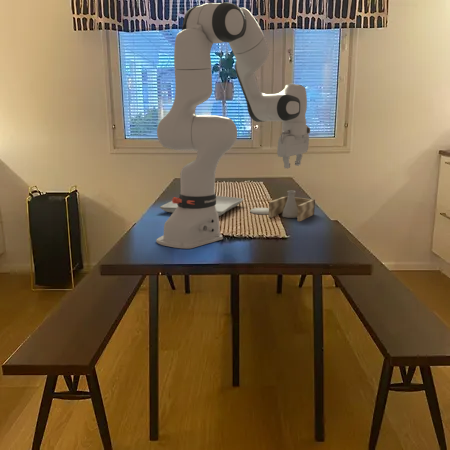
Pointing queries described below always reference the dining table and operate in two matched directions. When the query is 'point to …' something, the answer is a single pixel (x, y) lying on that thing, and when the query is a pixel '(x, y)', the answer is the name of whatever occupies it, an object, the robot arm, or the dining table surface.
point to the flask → (290, 206)
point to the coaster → (260, 211)
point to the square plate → (221, 205)
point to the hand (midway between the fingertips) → (292, 166)
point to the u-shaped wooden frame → (303, 206)
